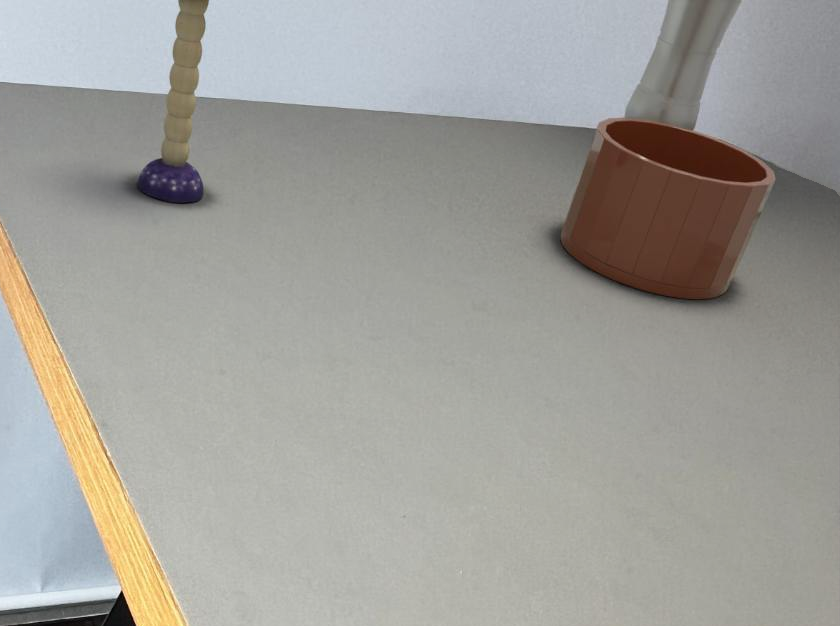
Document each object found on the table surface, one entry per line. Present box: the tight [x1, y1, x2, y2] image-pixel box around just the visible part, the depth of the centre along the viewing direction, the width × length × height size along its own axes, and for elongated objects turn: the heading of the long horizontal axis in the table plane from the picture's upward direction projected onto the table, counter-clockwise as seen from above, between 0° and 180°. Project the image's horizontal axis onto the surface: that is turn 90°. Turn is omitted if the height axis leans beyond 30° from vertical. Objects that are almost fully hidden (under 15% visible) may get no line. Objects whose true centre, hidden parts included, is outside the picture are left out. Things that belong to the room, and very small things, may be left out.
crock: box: [560, 117, 776, 300], centre depth 86 cm, size 12×12×8 cm
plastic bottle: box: [623, 0, 742, 131], centre depth 109 cm, size 6×7×20 cm
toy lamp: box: [137, 0, 210, 203], centre depth 75 cm, size 5×5×17 cm
